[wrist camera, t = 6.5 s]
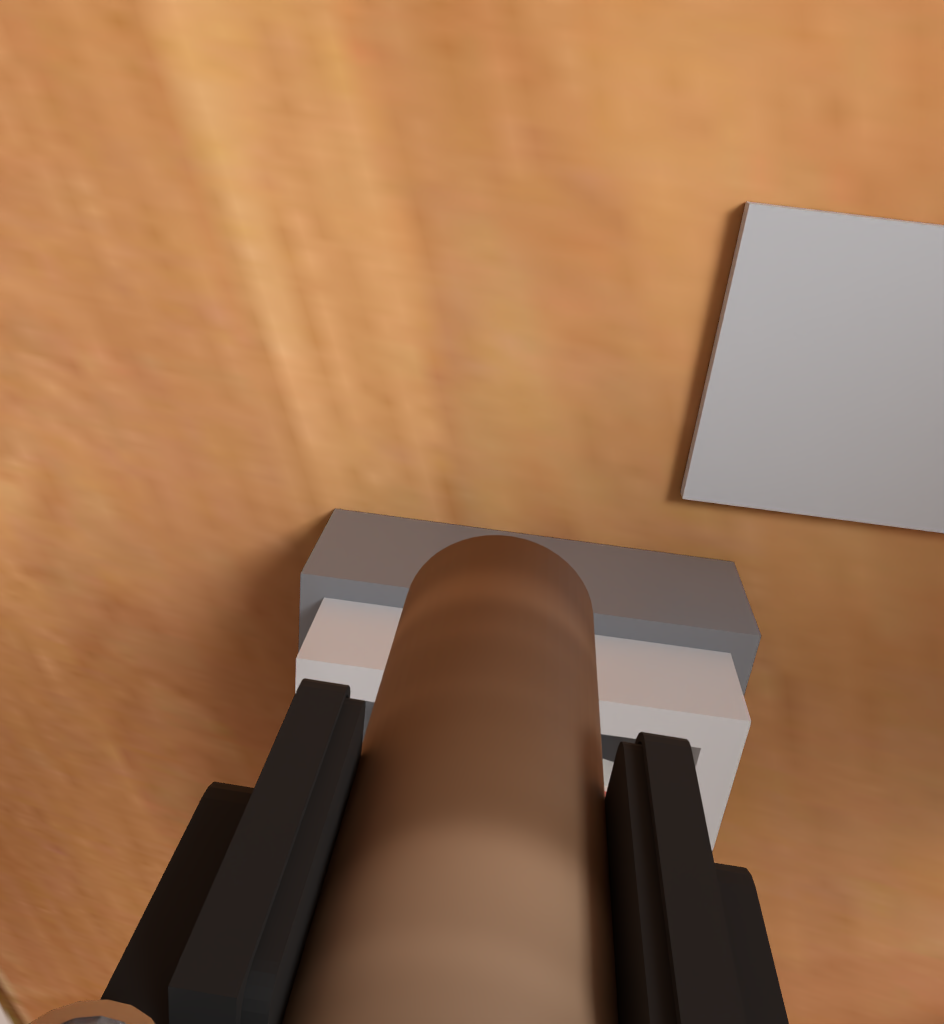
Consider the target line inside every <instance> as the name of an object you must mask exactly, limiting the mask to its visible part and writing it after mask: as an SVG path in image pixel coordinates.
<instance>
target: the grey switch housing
mask: <svg viewBox="0 0 944 1024" xmlns="http://www.w3.org/2000/svg"><path fill="white" fill-rule="evenodd" d="M485 535H504V536H513V537H518V538H523V539H526V540H529V541H532V542H535V543H538V544H540V545H542V546H544V547H546V548H548V549H550V550H551V551H553V552H554V553H556V554H557V555H559V556H560V557H561V558H563V559H564V560H565V561H566V562H567V563H568V564H569V565H570V566H571V567H572V568H573V569H574V570H575V571H576V572H577V574H578V575H579V577H580V578H581V580H582V581H583V583H584V585H585V587H586V589H587V591H588V593H589V596H590V599H591V603H592V609H593V617H594V633H595V649H596V665H597V680H598V696H599V712H600V728H601V743H602V759H606V760H609V761H612V762H614V760H615V756H616V752H617V749H618V745H619V743H620V742H628V743H635V741H636V738H637V736H638V734H639V733H640V732H646V733H653V734H659V735H665V736H671V737H678V738H684V739H687V740H688V741H689V742H690V745H691V749H692V754H693V759H694V764H695V769H696V774H697V779H698V784H699V789H700V794H701V799H702V804H703V809H704V814H705V819H706V824H707V829H708V834H709V839H710V844H711V849H712V851H713V848H714V844H715V841H716V838H717V834H718V831H719V828H720V824H721V821H722V818H723V814H724V811H725V808H726V804H727V801H728V798H729V794H730V791H731V788H732V784H733V781H734V778H735V774H736V771H737V768H738V764H739V761H740V758H741V754H742V751H743V748H744V744H745V741H746V738H747V734H748V731H749V728H750V724H751V719H750V715H749V712H748V709H747V705H746V702H745V699H744V694H745V690H746V687H747V683H748V680H749V676H750V673H751V670H752V666H753V663H754V659H755V656H756V652H757V649H758V645H759V642H760V639H761V634H760V631H759V628H758V626H757V623H756V620H755V618H754V615H753V612H752V609H751V607H750V604H749V601H748V599H747V596H746V593H745V590H744V588H743V585H742V582H741V580H740V577H739V574H738V572H737V569H736V566H735V563H734V562H731V561H723V560H716V559H708V558H701V557H693V556H686V555H678V554H671V553H663V552H656V551H648V550H641V549H633V548H626V547H618V546H611V545H603V544H596V543H588V542H581V541H574V540H566V539H559V538H551V537H544V536H536V535H529V534H521V533H514V532H506V531H499V530H491V529H484V528H476V527H469V526H461V525H454V524H446V523H439V522H431V521H424V520H416V519H409V518H401V517H394V516H386V515H379V514H371V513H364V512H356V511H349V510H341V509H334V511H333V513H332V515H331V517H330V519H329V521H328V523H327V525H326V526H325V528H324V530H323V532H322V534H321V536H320V538H319V540H318V541H317V543H316V545H315V547H314V549H313V551H312V553H311V555H310V557H309V558H308V560H307V562H306V564H305V566H304V568H303V570H302V572H301V579H300V617H299V653H298V655H297V657H296V683H295V694H296V691H297V689H298V687H299V685H300V683H301V681H302V680H303V679H304V678H306V679H313V680H319V681H325V682H332V683H338V684H344V685H349V686H350V691H351V693H350V698H352V699H358V700H365V702H366V707H365V719H364V730H363V739H364V736H365V733H366V729H367V726H368V723H369V719H370V716H371V713H372V709H373V706H374V703H375V700H376V696H377V693H378V690H379V686H380V683H381V680H382V676H383V673H384V670H385V666H386V663H387V660H388V656H389V653H390V650H391V646H392V643H393V640H394V636H395V633H396V630H397V626H398V623H399V620H400V617H401V613H402V610H403V607H404V603H405V600H406V597H407V593H408V591H409V588H410V585H411V583H412V581H413V579H414V577H415V575H416V574H417V573H418V571H419V570H420V569H421V567H422V566H423V565H424V564H425V563H426V562H427V561H428V560H429V559H430V558H431V557H432V556H434V555H435V554H436V553H438V552H439V551H440V550H442V549H444V548H446V547H448V546H449V545H451V544H454V543H456V542H459V541H461V540H465V539H468V538H472V537H478V536H485ZM362 743H363V740H362Z"/></svg>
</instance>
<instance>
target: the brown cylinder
mask: <svg viewBox="0 0 944 1024" xmlns="http://www.w3.org/2000/svg"><path fill="white" fill-rule="evenodd" d="M282 1024H619V1021H618V1005H617V989H616V973H615V957H614V941H613V925H612V909H611V894H610V878H609V862H608V846H607V830H606V814H605V790H604V775H603V759H602V743H601V728H600V712H599V696H598V680H597V665H596V649H595V633H594V617H593V609H592V603H591V599H590V596H589V593H588V591H587V589H586V587H585V585H584V583H583V581H582V580H581V578H580V577H579V575H578V574H577V572H576V571H575V570H574V569H573V568H572V567H571V566H570V565H569V564H568V563H567V562H566V561H565V560H564V559H563V558H561V557H560V556H559V555H557V554H556V553H554V552H553V551H551V550H550V549H548V548H546V547H544V546H542V545H540V544H538V543H535V542H532V541H529V540H526V539H523V538H518V537H513V536H504V535H485V536H478V537H472V538H468V539H465V540H461V541H459V542H456V543H454V544H451V545H449V546H448V547H446V548H444V549H442V550H440V551H439V552H438V553H436V554H435V555H434V556H432V557H431V558H430V559H429V560H428V561H427V562H426V563H425V564H424V565H423V566H422V567H421V569H420V570H419V571H418V573H417V574H416V575H415V577H414V579H413V581H412V583H411V585H410V588H409V591H408V593H407V597H406V600H405V603H404V607H403V610H402V613H401V617H400V620H399V623H398V626H397V630H396V633H395V636H394V640H393V643H392V646H391V650H390V653H389V656H388V660H387V663H386V666H385V670H384V673H383V676H382V680H381V683H380V686H379V690H378V693H377V696H376V700H375V703H374V706H373V709H372V713H371V716H370V719H369V723H368V726H367V729H366V733H365V736H364V739H363V743H362V751H361V758H360V761H359V765H358V768H357V771H356V775H355V778H354V782H353V785H352V788H351V792H350V795H349V798H348V802H347V805H346V808H345V812H344V815H343V819H342V822H341V825H340V829H339V832H338V835H337V839H336V842H335V846H334V849H333V852H332V856H331V859H330V862H329V866H328V869H327V873H326V876H325V879H324V883H323V886H322V889H321V893H320V896H319V899H318V903H317V906H316V910H315V913H314V916H313V920H312V923H311V926H310V930H309V933H308V937H307V940H306V943H305V947H304V950H303V953H302V957H301V960H300V963H299V967H298V970H297V974H296V977H295V980H294V984H293V987H292V990H291V994H290V997H289V1001H288V1004H287V1007H286V1011H285V1014H284V1017H283V1021H282Z"/></svg>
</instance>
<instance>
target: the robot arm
mask: <svg viewBox="0 0 944 1024" xmlns="http://www.w3.org/2000/svg"><path fill="white" fill-rule="evenodd" d="M350 693H351V691H350V686H349V685H344V684H338V683H332V682H325V681H319V680H313V679H306V678H304V679H303V680H302V681H301V683H300V685H299V687H298V689H297V691H296V694H295V696H294V698H293V700H292V703H291V705H290V707H289V710H288V712H287V714H286V717H285V719H284V721H283V723H282V726H281V728H280V730H279V733H278V735H277V737H276V740H275V742H274V744H273V746H272V749H271V751H270V753H269V756H268V758H267V760H266V763H265V765H264V767H263V769H262V772H261V774H260V776H259V779H258V781H257V783H256V786H255V788H250V787H243V786H237V785H231V784H225V783H219V782H213V783H212V784H211V785H210V786H209V787H208V788H207V790H206V792H205V793H204V795H203V797H202V799H201V801H200V803H199V805H198V807H197V809H196V811H195V812H194V814H193V816H192V818H191V820H190V822H189V824H188V826H187V828H186V830H185V832H184V834H183V836H182V838H181V840H180V842H179V844H178V846H177V848H176V850H175V852H174V854H173V856H172V858H171V860H170V862H169V864H168V866H167V868H166V870H165V872H164V874H163V876H162V878H161V880H160V882H159V884H158V886H157V888H156V890H155V892H154V894H153V896H152V898H151V900H150V902H149V904H148V906H147V908H146V910H145V912H144V914H143V916H142V918H141V920H140V922H139V924H138V926H137V928H136V930H135V932H134V934H133V936H132V938H131V940H130V942H129V944H128V946H127V948H126V950H125V952H124V954H123V956H122V958H121V960H120V962H119V964H118V966H117V968H116V970H115V972H114V974H113V976H112V978H111V980H110V982H109V984H108V986H107V988H106V989H105V991H104V993H103V995H102V997H101V999H100V1000H91V1001H79V1002H76V1003H73V1004H69V1005H66V1006H63V1007H60V1008H57V1009H54V1010H51V1011H49V1012H48V1013H46V1014H44V1015H43V1016H41V1017H39V1018H38V1019H36V1020H34V1021H33V1022H31V1023H29V1024H282V1021H283V1017H284V1014H285V1011H286V1007H287V1004H288V1001H289V997H290V994H291V990H292V987H293V984H294V980H295V977H296V974H297V970H298V967H299V963H300V960H301V957H302V953H303V950H304V947H305V943H306V940H307V937H308V933H309V930H310V926H311V923H312V920H313V916H314V913H315V910H316V906H317V903H318V899H319V896H320V893H321V889H322V886H323V883H324V879H325V876H326V873H327V869H328V866H329V862H330V859H331V856H332V852H333V849H334V846H335V842H336V839H337V835H338V832H339V829H340V825H341V822H342V819H343V815H344V812H345V808H346V805H347V802H348V798H349V795H350V792H351V788H352V785H353V782H354V778H355V775H356V771H357V768H358V765H359V761H360V758H361V751H362V740H363V730H364V719H365V707H366V702H365V700H358V699H352V698H350ZM605 814H606V830H607V846H608V862H609V878H610V894H611V909H612V925H613V941H614V957H615V973H616V989H617V1005H618V1021H619V1024H789V1022H788V1018H787V1014H786V1010H785V1006H784V1002H783V998H782V994H781V990H780V986H779V981H778V977H777V973H776V969H775V965H774V961H773V957H772V953H771V949H770V945H769V941H768V936H767V932H766V928H765V924H764V920H763V916H762V912H761V908H760V904H759V900H758V895H757V891H756V887H755V884H754V881H753V879H752V876H751V874H750V873H749V871H748V870H747V869H746V868H743V867H737V866H730V865H724V864H718V863H714V859H713V854H712V849H711V844H710V839H709V834H708V829H707V824H706V819H705V814H704V809H703V804H702V799H701V794H700V789H699V784H698V779H697V774H696V769H695V764H694V759H693V754H692V749H691V745H690V742H689V741H688V740H687V739H684V738H678V737H671V736H665V735H659V734H653V733H646V732H640V733H639V734H638V736H637V738H636V741H635V743H628V742H620V743H619V745H618V749H617V752H616V756H615V760H614V764H613V768H612V772H611V776H610V780H609V784H608V788H607V792H606V796H605Z"/></svg>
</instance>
